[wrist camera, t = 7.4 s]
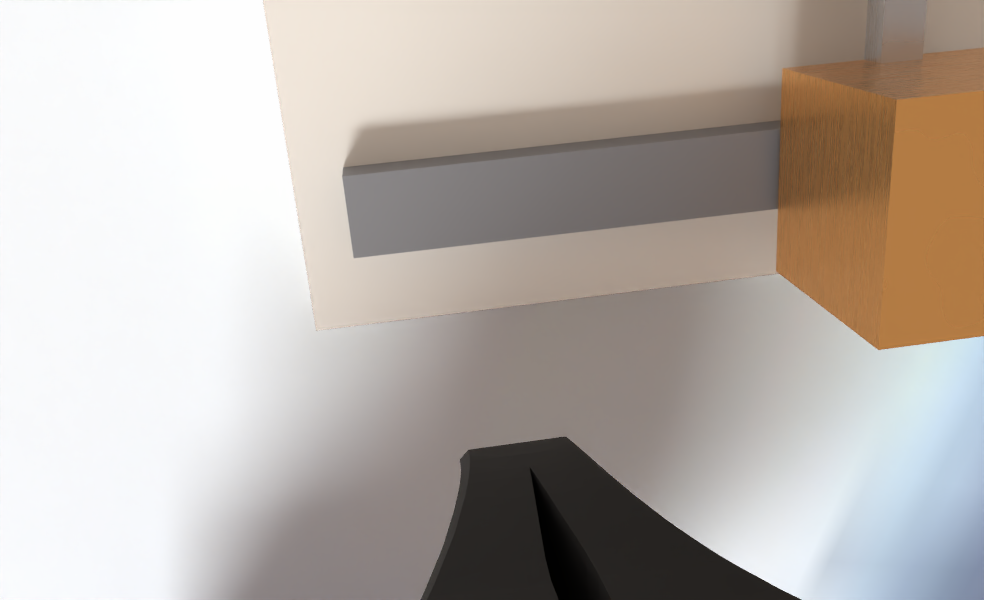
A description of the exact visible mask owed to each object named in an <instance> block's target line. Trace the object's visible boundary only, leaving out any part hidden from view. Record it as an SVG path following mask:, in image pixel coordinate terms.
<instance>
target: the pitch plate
mask: <svg viewBox="0 0 984 600" xmlns="http://www.w3.org/2000/svg"><path fill="white" fill-rule="evenodd" d="M263 4H264V10H265V16H266V22H267V29H268V35H269V41H270V47H271V53H272V60H273V66H274V72H275V78H276V84H277V90H278V97H279V103H280V109H281V115H282V121H283V128H284V134H285V140H286V146H287V152H288V159H289V165H290V171H291V177H292V183H293V190H294V196H295V202H296V208H297V214H298V221H299V227H300V233H301V239H302V245H303V251H304V258H305V264H306V270H307V276H308V282H309V289H310V295H311V301H312V307H313V313H314V320H315V326H316V331H318V330H326V329H334V328H342V327H350V326H358V325H366V324H374V323H382V322H391V321H399V320H407V319H415V318H423V317H431V316H439V315H447V314H455V313H464V312H472V311H480V310H488V309H496V308H504V307H512V306H520V305H528V304H537V303H545V302H553V301H561V300H569V299H577V298H585V297H593V296H602V295H610V294H618V293H626V292H634V291H642V290H650V289H658V288H666V287H675V286H683V285H691V284H699V283H707V282H715V281H723V280H731V279H739V278H748V277H756V276H764V275H772V274H779V273H778V272H777V271H776V254H777V221H778V188H779V155H780V122H781V89H782V68H789V67H799V66H808V65H818V64H828V63H838V62H847V61H857V60H864V55H865V38H866V22H867V5H868V0H263ZM975 48H984V0H927V11H926V23H925V35H924V47H923V54H926V53H935V52H945V51H955V50H965V49H975Z"/></svg>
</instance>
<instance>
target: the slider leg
mask: <svg viewBox="0 0 984 600" xmlns="http://www.w3.org/2000/svg"><path fill="white" fill-rule="evenodd" d="M926 11H927V0H868V5H867V22H866V38H865V55H864V60H857V61H847V62H838V63H828V64H818V65H808V66H799V67H789V68H782V89H781V122H780V155H779V188H778V221H777V254H776V271H777V272H778V273H779V274H781V275H782V276H783V277H784V278H786V279H787V280H788V281H790V282H791V283H792V284H793V285H795V286H796V287H797V288H799V289H800V290H801V291H803V292H804V293H805V294H806V295H808V296H809V297H810V298H812V299H813V300H814V301H816V302H817V303H818V304H819V305H821V306H822V307H823V308H825V309H826V310H827V311H828V312H830V313H831V314H832V315H834V316H835V317H836V318H838V319H839V320H840V321H841V322H843V323H844V324H845V325H847V326H848V327H849V328H851V329H852V330H853V331H854V332H856V333H857V334H858V335H860V336H861V337H862V338H864V339H865V340H866V341H867V342H869V343H870V344H871V345H873V346H874V347H875V348H876V349H878V350H881V349H889V348H896V347H904V346H911V345H919V344H926V343H934V342H941V341H949V340H957V339H964V338H972V337H979V336H984V48H975V49H965V50H955V51H945V52H935V53H926V54H923V47H924V35H925V23H926Z"/></svg>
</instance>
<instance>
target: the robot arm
mask: <svg viewBox="0 0 984 600" xmlns="http://www.w3.org/2000/svg"><path fill="white" fill-rule="evenodd" d="M460 463H461V480H460V487H459V492H458V497H457V501H456V506H455V510H454V513H453V516H452V520H451V523H450V526H449V529H448V533H447V536H446V539H445V542H444V545H443V548H442V551H441V553H440V556H439V558H438V560H437V563H436V565H435V568H434V570H433V572H432V575H431V577H430V580H429V582H428V584H427V587H426V589H425V592H424V594H423V596H422V598H421V600H801V599H799V598H797V597H795V596H793V595H791V594H789V593H787V592H785V591H783V590H781V589H779V588H777V587H775V586H773V585H771V584H769V583H768V582H766V581H764V580H762V579H760V578H758V577H757V576H755V575H753V574H751V573H749V572H747V571H746V570H744V569H742V568H740V567H738V566H736V565H735V564H733V563H731V562H730V561H728V560H726V559H725V558H723V557H721V556H720V555H718V554H716V553H715V552H713V551H711V550H710V549H708V548H707V547H705V546H704V545H702V544H701V543H699V542H698V541H696V540H695V539H693V538H692V537H690V536H689V535H687V534H686V533H684V532H683V531H681V530H680V529H678V528H677V527H675V526H674V525H673V524H671V523H670V522H669V521H667V520H666V519H664V518H663V517H662V516H660V515H659V514H658V513H657V512H655V511H654V510H653V509H651V508H650V507H649V506H648V505H646V504H645V503H644V502H642V501H641V500H640V499H639V498H637V497H636V496H635V495H633V494H632V493H631V492H630V491H629V490H627V489H626V488H625V487H624V486H623V485H621V484H620V483H619V482H618V481H617V480H615V479H614V478H613V477H612V476H611V475H610V474H608V473H607V472H606V471H605V470H604V469H603V468H602V467H600V466H599V465H598V464H597V463H596V462H595V461H594V460H592V459H591V458H590V457H589V456H588V455H587V454H586V453H585V452H583V451H582V450H581V449H580V448H579V447H578V446H576V445H575V444H574V443H573V442H572V441H570V440H569V439H568V438H567V437H559V438H552V439H545V440H537V441H530V442H523V443H515V444H508V445H501V446H494V447H486V448H479V449H472V450H468V451H467V452H466V453H465V454H464V456H463V457H462V458H461V459H460Z"/></svg>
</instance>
